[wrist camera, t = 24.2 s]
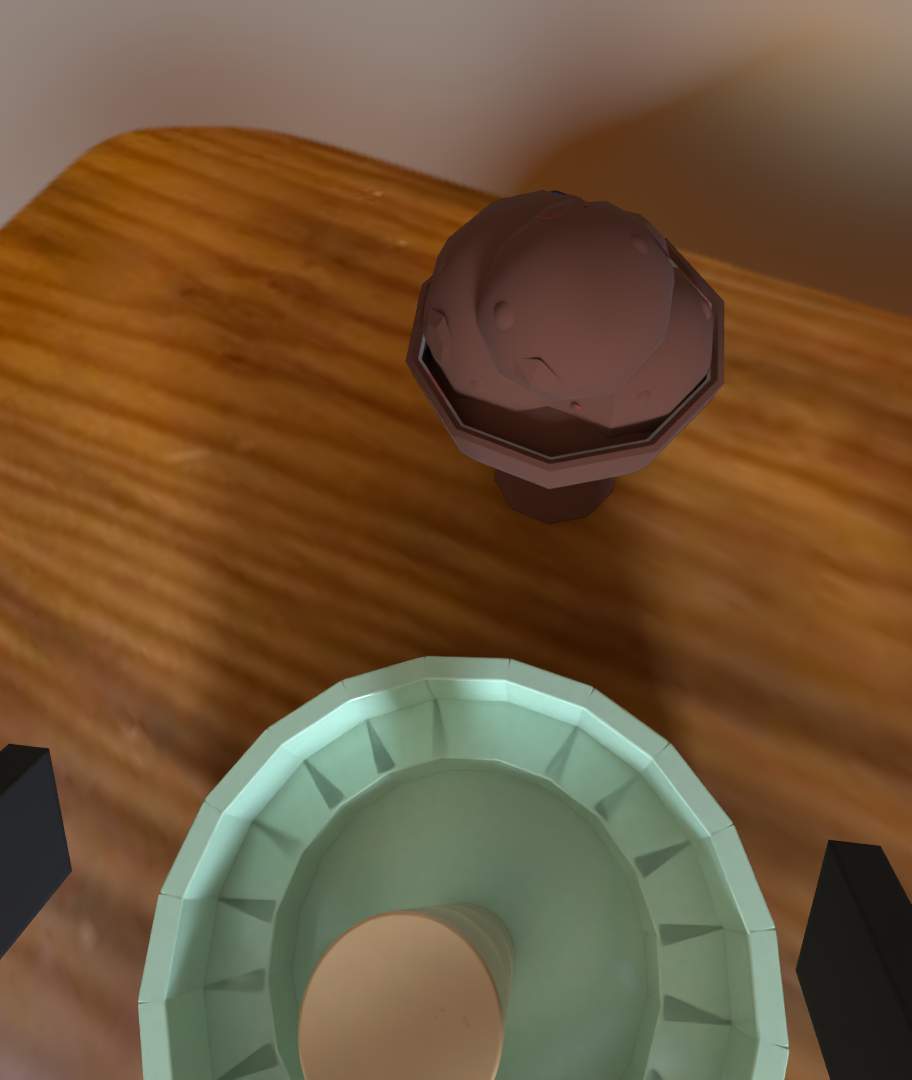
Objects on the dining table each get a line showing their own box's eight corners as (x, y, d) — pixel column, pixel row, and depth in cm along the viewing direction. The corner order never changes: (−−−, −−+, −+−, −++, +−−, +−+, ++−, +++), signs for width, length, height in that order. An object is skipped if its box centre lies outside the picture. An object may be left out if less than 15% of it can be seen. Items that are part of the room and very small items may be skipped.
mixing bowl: (146, 872, 29) (51, 866, 23) (527, 620, 32) (528, 558, 26) (382, 1429, 22) (331, 1623, 16) (840, 1040, 25) (938, 1085, 19)
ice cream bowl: (726, 457, 34) (858, 171, 21) (561, 630, 32) (591, 432, 18) (548, 334, 38) (562, 25, 24) (387, 481, 35) (302, 222, 22)
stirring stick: (404, 938, 27) (261, 989, 12) (480, 882, 27) (431, 868, 13) (454, 1029, 25) (361, 1209, 11) (533, 969, 26) (545, 1064, 11)
